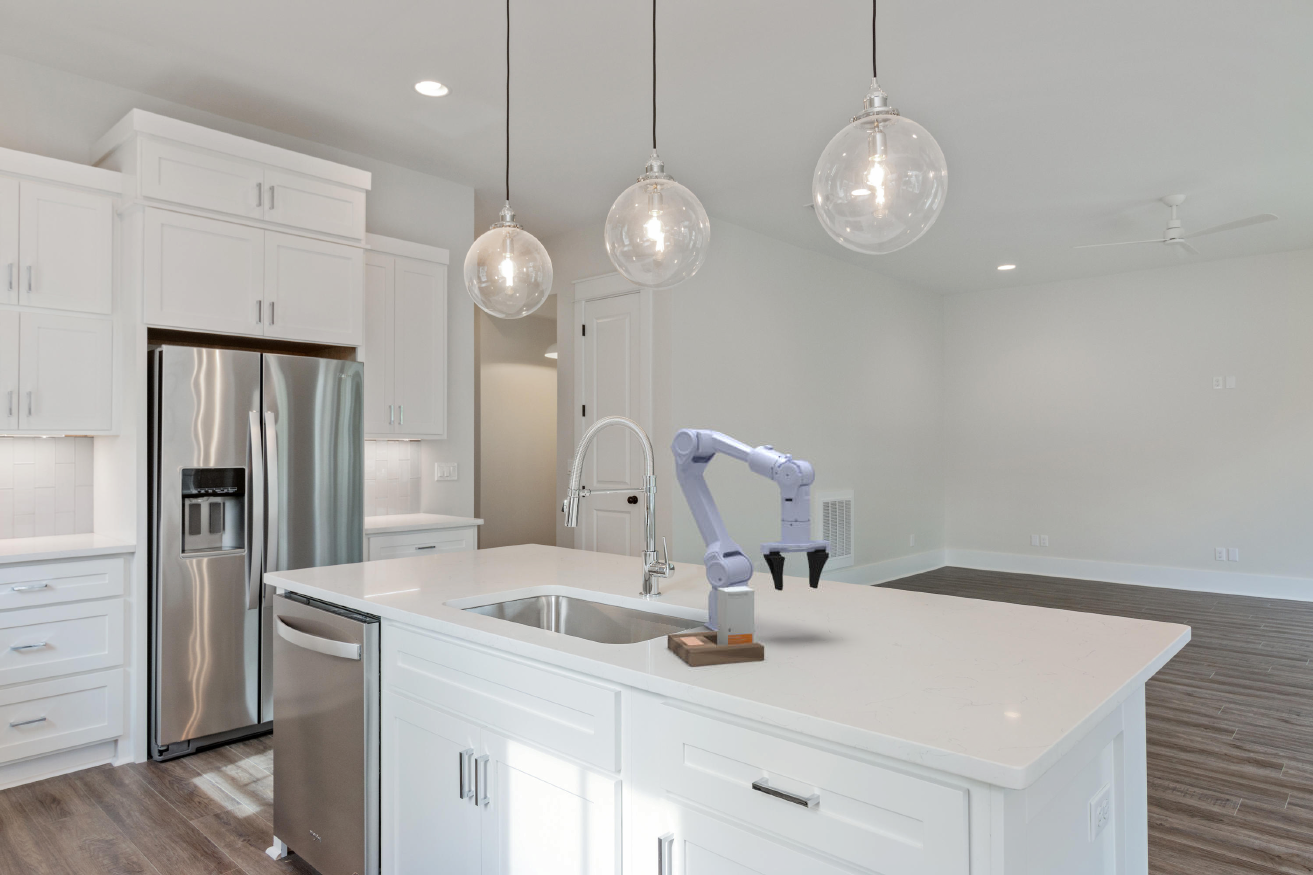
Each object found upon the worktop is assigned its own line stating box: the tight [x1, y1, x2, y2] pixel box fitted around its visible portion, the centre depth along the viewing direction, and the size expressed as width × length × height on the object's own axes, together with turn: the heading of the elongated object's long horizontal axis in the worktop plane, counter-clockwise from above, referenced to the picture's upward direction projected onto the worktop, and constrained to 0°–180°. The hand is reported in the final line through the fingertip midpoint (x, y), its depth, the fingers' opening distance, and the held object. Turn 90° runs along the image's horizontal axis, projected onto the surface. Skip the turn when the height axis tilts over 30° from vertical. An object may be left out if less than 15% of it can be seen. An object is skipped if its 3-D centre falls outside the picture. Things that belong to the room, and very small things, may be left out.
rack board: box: [667, 630, 765, 668], centre depth 146 cm, size 14×14×3 cm
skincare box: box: [717, 586, 755, 646], centre depth 147 cm, size 6×4×12 cm
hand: (796, 588), depth 156 cm, fingers open, 7 cm apart
